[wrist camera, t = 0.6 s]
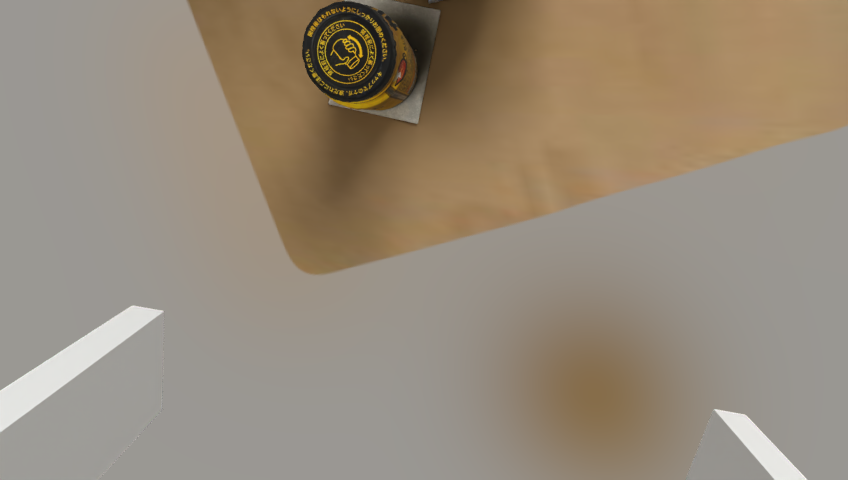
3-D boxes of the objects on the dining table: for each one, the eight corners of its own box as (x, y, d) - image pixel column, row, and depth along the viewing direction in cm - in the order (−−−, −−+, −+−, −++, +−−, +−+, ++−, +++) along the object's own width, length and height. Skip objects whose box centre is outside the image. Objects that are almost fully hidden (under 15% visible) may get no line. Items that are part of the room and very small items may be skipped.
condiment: (329, 104, 39) (277, 100, 27) (346, -10, 37) (298, -67, 25) (418, 123, 39) (404, 128, 27) (441, 11, 37) (436, -36, 25)
